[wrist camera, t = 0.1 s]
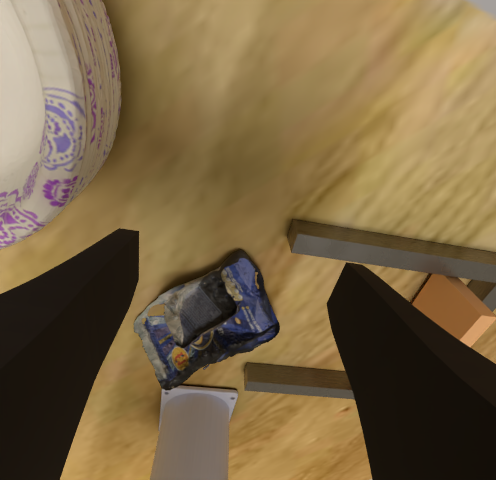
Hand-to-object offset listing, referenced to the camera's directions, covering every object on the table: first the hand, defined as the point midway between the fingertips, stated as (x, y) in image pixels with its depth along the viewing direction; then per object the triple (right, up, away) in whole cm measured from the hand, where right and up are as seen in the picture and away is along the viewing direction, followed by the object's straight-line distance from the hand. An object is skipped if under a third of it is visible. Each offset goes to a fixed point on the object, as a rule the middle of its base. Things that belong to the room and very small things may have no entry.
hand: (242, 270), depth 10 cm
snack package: (-3, -4, +15) cm, 16 cm away
